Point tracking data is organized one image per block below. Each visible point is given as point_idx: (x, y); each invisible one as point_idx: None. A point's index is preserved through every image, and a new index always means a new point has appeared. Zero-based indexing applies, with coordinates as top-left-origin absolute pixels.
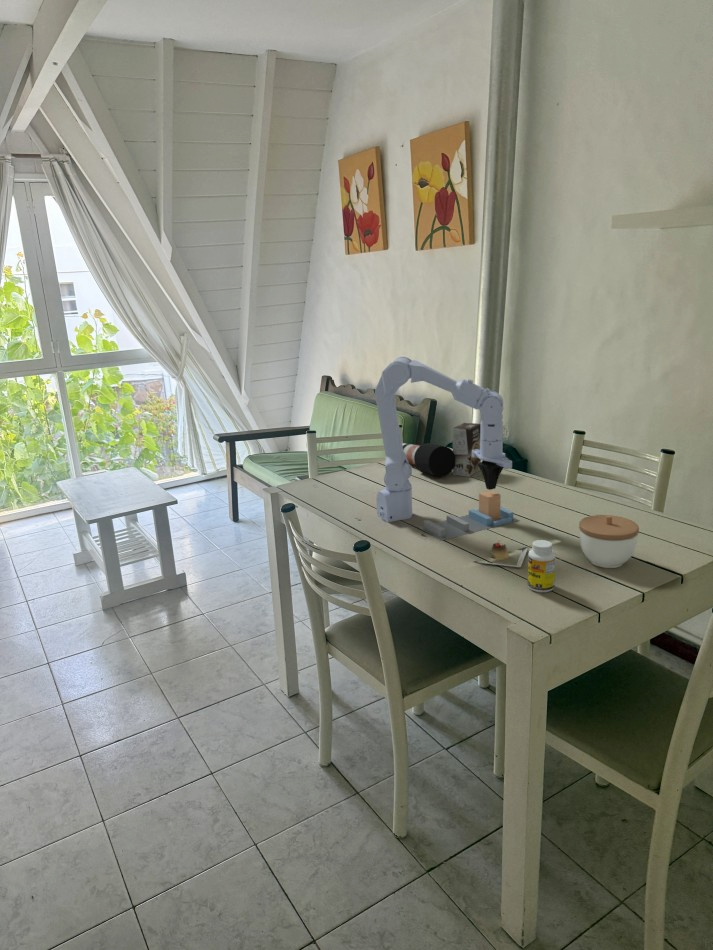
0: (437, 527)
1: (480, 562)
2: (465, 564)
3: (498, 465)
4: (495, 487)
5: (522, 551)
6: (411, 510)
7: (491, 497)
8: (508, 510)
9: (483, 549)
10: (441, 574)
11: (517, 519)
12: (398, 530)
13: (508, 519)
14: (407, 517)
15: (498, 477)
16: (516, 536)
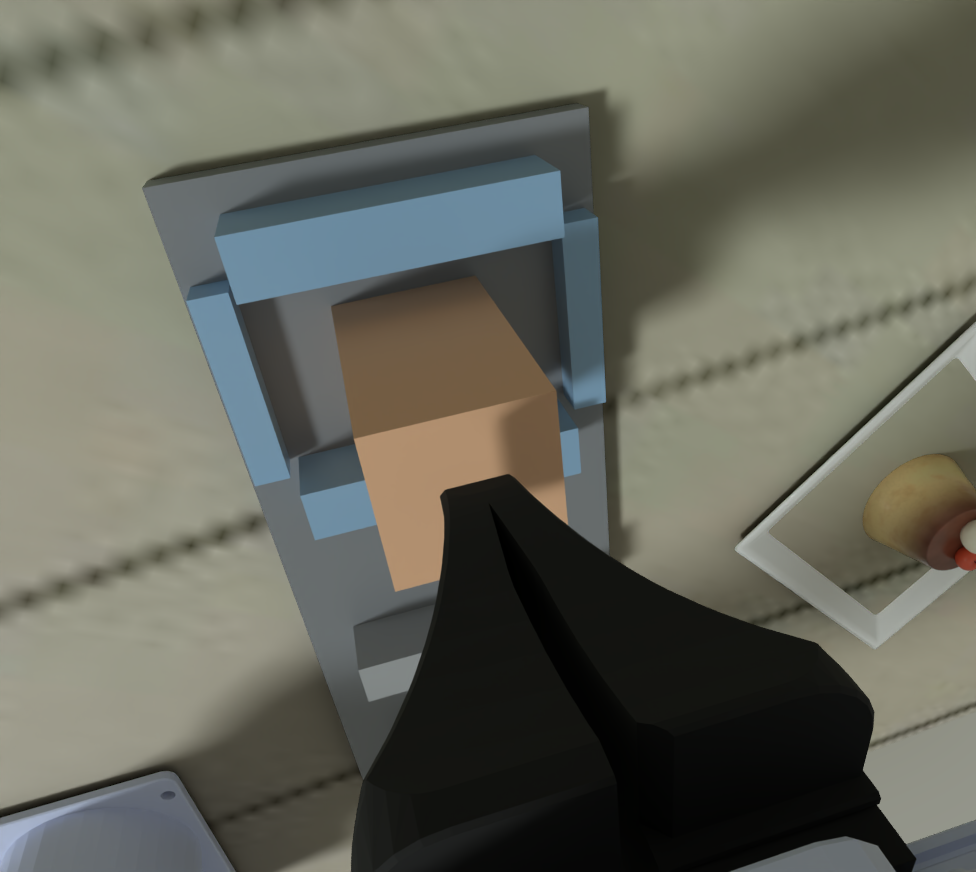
0: None
1: (922, 610)
2: (869, 655)
3: (859, 823)
4: (517, 482)
5: (973, 367)
6: (148, 861)
7: (564, 504)
8: (487, 195)
9: (801, 545)
10: (870, 741)
11: (557, 115)
12: (331, 853)
13: (597, 255)
14: (191, 843)
15: (605, 555)
16: (783, 286)
